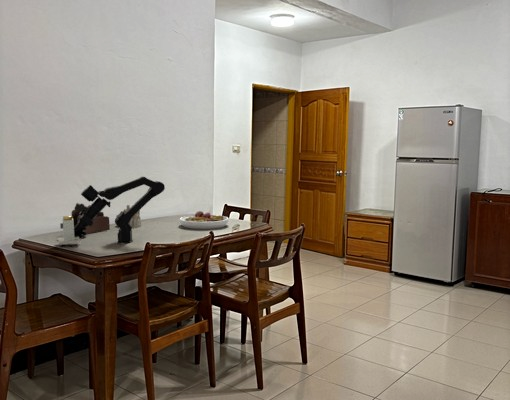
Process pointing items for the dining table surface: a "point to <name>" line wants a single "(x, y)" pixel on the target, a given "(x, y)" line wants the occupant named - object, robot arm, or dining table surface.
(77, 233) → the end cap
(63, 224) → the brushed metal block
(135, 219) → the ceramic cottage
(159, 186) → the robot arm
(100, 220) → the letter holder
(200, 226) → the bowl
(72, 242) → the gray rectangular block
